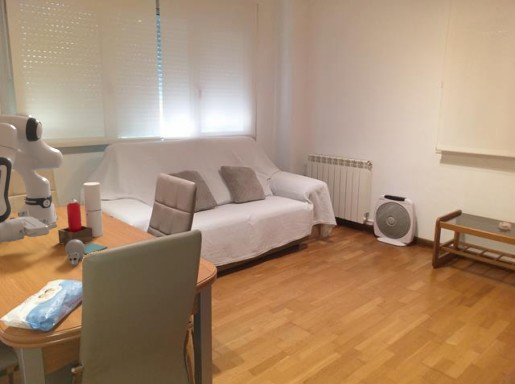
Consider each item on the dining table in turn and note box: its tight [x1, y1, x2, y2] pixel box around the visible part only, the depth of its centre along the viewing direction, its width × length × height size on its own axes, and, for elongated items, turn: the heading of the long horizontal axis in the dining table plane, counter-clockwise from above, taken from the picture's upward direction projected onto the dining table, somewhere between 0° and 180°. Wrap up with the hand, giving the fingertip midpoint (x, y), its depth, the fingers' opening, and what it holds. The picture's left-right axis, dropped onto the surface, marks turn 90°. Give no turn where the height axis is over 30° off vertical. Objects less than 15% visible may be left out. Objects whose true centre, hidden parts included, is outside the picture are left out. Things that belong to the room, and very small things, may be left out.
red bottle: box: [66, 198, 83, 233], centre depth 182 cm, size 6×5×20 cm
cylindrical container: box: [83, 181, 104, 238], centre depth 192 cm, size 7×7×25 cm
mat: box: [83, 242, 108, 256], centre depth 175 cm, size 10×10×1 cm
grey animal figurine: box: [64, 239, 85, 267], centre depth 160 cm, size 7×12×8 cm, turn 14°
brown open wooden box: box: [57, 225, 94, 246], centre depth 184 cm, size 10×10×6 cm
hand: (51, 222), depth 175 cm, fingers open, 8 cm apart
